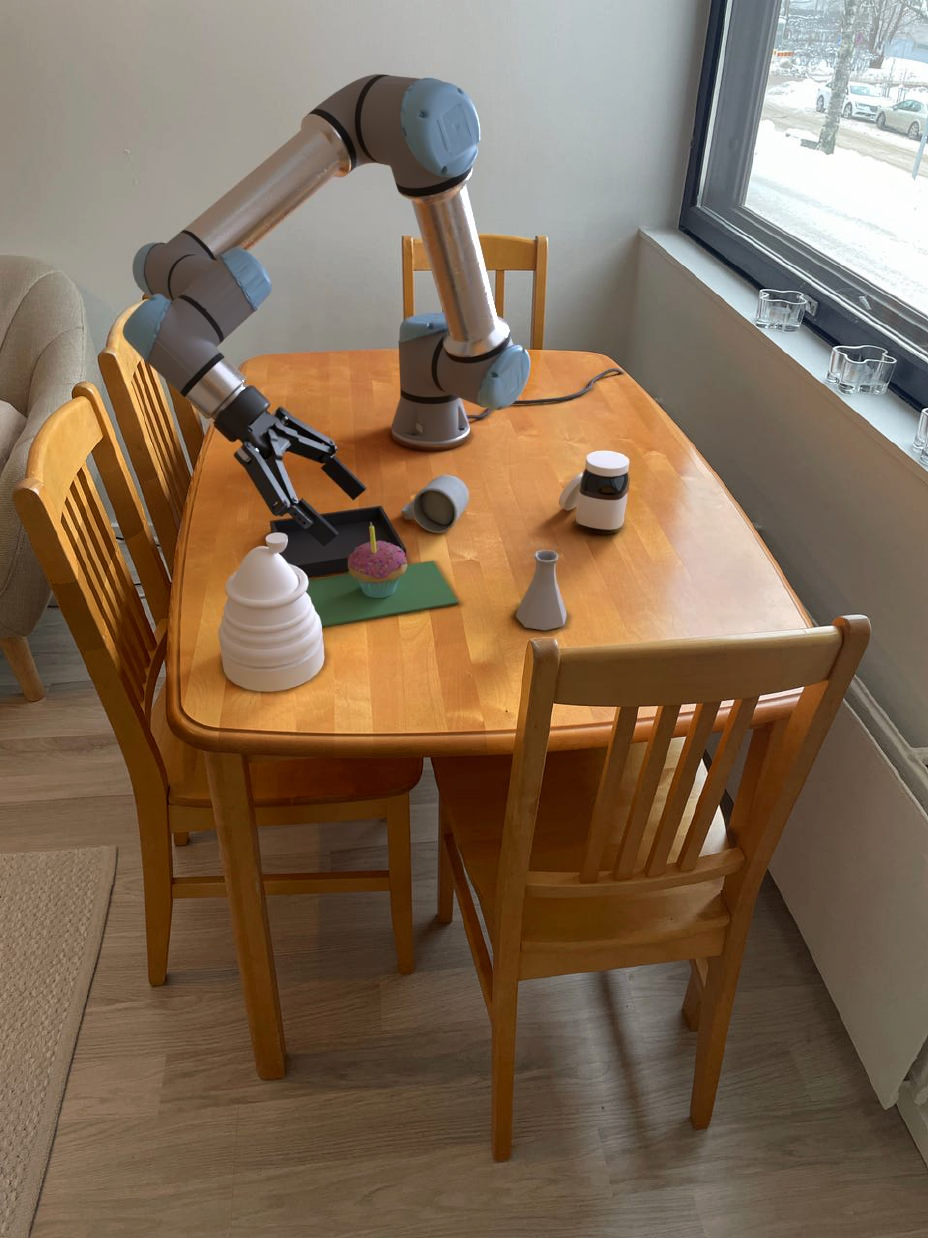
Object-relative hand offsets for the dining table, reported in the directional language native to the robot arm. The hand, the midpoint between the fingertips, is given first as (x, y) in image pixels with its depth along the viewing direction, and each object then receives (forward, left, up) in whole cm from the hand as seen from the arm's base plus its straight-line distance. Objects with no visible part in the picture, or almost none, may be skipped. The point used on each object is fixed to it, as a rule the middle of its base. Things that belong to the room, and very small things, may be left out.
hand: (346, 516), depth 126 cm
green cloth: (-4, +3, -12) cm, 13 cm away
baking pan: (-1, -12, -12) cm, 17 cm away
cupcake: (-4, +2, -11) cm, 12 cm away
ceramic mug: (-18, -16, -12) cm, 26 cm away
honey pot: (+13, +14, -12) cm, 23 cm away
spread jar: (-43, -9, -12) cm, 45 cm away
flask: (-24, +15, -12) cm, 31 cm away
